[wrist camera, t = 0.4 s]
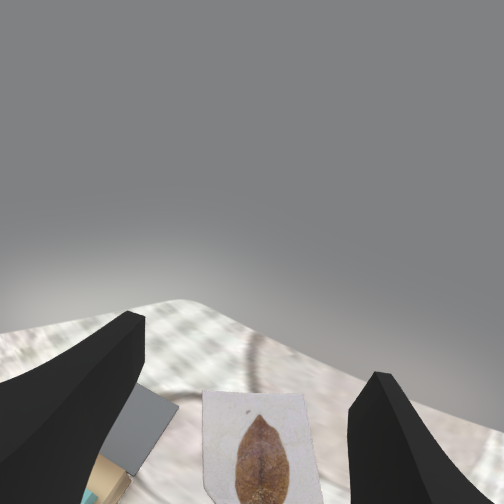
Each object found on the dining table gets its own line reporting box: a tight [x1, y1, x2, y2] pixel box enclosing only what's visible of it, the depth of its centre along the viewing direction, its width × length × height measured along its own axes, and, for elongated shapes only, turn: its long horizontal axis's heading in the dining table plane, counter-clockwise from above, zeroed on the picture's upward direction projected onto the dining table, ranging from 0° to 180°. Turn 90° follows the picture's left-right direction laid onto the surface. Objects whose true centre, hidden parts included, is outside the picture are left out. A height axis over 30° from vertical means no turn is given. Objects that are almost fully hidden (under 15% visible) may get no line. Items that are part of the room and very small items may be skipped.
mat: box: [99, 382, 179, 476], centre depth 24 cm, size 8×10×1 cm
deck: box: [86, 454, 131, 504], centre depth 14 cm, size 12×10×4 cm
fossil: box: [202, 390, 324, 504], centre depth 23 cm, size 16×1×10 cm
